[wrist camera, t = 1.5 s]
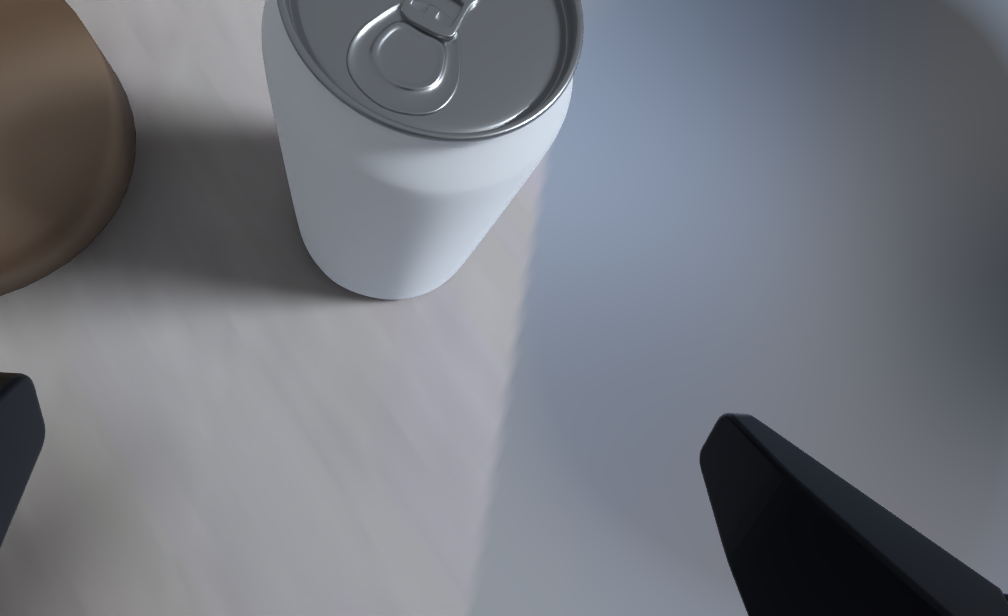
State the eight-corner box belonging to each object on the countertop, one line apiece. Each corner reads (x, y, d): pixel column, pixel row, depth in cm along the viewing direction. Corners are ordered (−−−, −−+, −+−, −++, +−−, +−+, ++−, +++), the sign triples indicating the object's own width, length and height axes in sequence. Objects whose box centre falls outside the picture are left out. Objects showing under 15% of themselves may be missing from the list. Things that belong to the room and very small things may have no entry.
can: (265, 256, 20) (168, 45, 9) (345, 109, 22) (348, -221, 11) (434, 331, 21) (538, 226, 10) (497, 185, 23) (645, -43, 12)
